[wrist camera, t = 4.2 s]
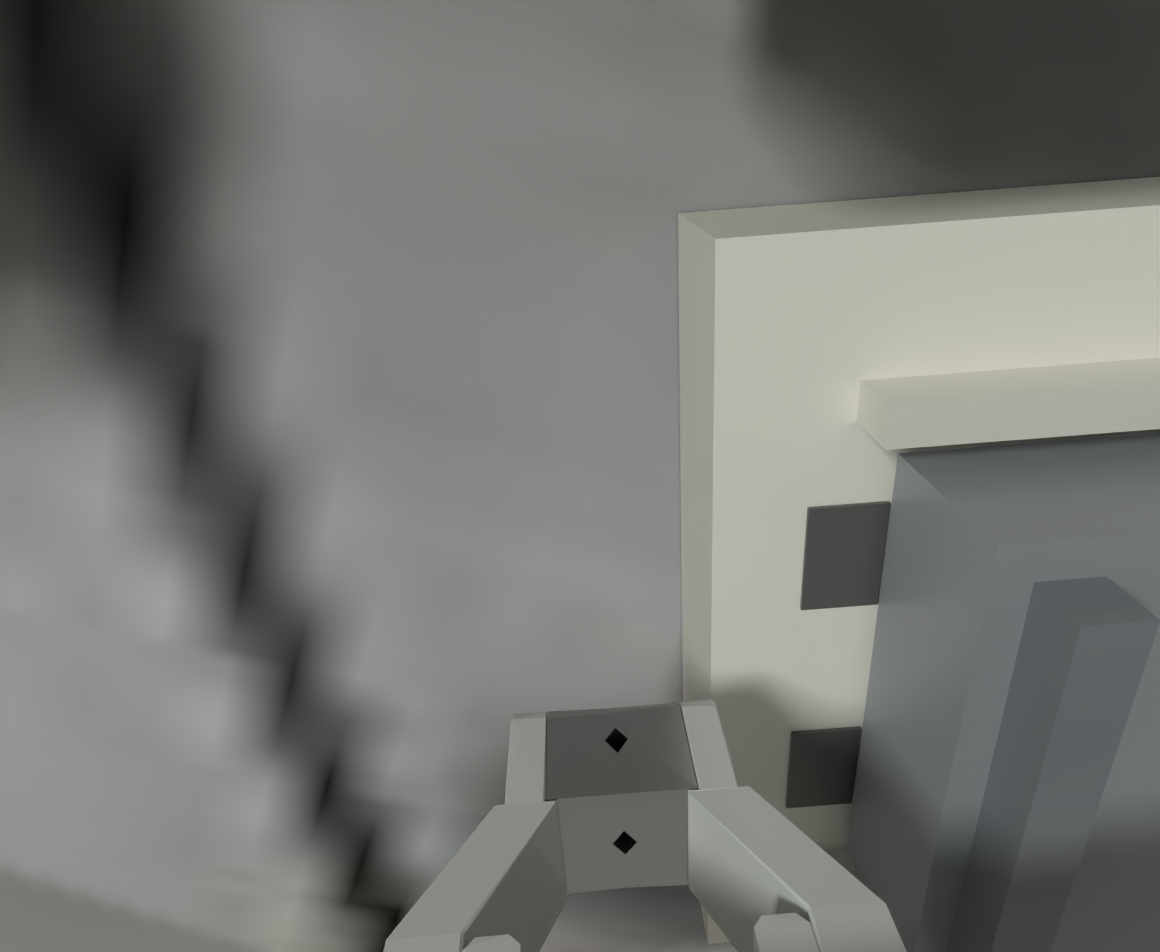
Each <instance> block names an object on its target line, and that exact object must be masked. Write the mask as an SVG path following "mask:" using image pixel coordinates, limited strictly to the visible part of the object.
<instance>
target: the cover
mask: <svg viewBox="0 0 1160 952" xmlns="http://www.w3.org/2000/svg"><path fill="white" fill-rule="evenodd" d="M847 850H848V852H849V855H850V857H851V859H852V862H853V864H854V867H855V869H856V872H857V874H858V877H859V879H860V881H861V883H863V884H864V885H865V886H866V887H867V888H868V889H870V890H871V891H872V892H873V893H874V894H875V895H876V896H878V897H879V898H880V899H881V900H882V901H883V902H885V903H886V905H887V907H888V910H889V912H890V914H891V917H892V919H893V921H894V924H895V926H896V928H897V931H898V933H899V935H900V938H901V940H902V942H903V945H904V947H905V949H906V952H1160V433H1157V434H1144V435H1131V436H1118V437H1105V438H1092V439H1079V440H1066V441H1053V442H1040V443H1027V444H1014V445H1001V446H988V447H975V448H962V449H949V450H936V451H923V452H910V453H898V457H897V465H896V473H895V480H894V488H893V496H892V504H891V511H890V519H889V527H888V535H887V542H886V550H885V558H884V566H883V573H882V581H881V589H880V596H879V604H878V612H877V620H876V627H875V635H874V643H873V651H872V658H871V666H870V674H869V682H868V689H867V697H866V705H865V713H864V720H863V728H862V736H861V743H860V751H859V759H858V767H857V774H856V782H855V790H854V798H853V805H852V813H851V821H850V829H849V836H848V844H847Z"/></svg>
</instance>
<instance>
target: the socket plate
mask: <svg viewBox="0 0 1160 952" xmlns="http://www.w3.org/2000/svg"><path fill="white" fill-rule="evenodd" d="M678 260H679V359H680V458H681V556H682V655H683V702H686V701H697V700H708V699H712V700H713V701H714V702H715V703H716V706H717V710H718V713H719V717H720V720H721V724H722V727H723V731H724V734H725V738H726V741H727V745H728V748H729V752H730V755H731V759H732V762H733V766H734V769H735V773H736V776H737V780H738V783H739V787H743V786H750V787H751V788H753V789H754V790H755V791H756V792H757V793H758V794H760V795H761V796H762V797H763V798H764V799H765V800H766V801H768V802H769V803H770V804H771V805H772V806H773V807H775V808H776V809H777V810H778V811H779V812H780V813H782V814H783V815H784V816H785V817H786V818H787V819H788V820H790V821H791V822H792V823H793V824H794V825H795V826H797V827H798V828H799V829H800V830H801V831H802V832H804V833H805V834H806V835H807V836H808V837H809V838H810V839H812V840H813V841H814V842H815V843H816V844H817V845H819V846H820V847H821V848H822V849H823V850H824V851H826V852H827V853H828V854H829V855H830V856H831V857H832V858H834V859H835V860H836V861H837V862H838V863H839V864H841V865H842V866H843V867H844V868H845V869H846V870H848V871H849V872H850V873H851V874H852V875H853V876H854V877H856V878H857V879H858V880H859V881H860V879H859V877H858V874H857V872H856V869H855V867H854V864H853V862H852V859H851V857H850V855H849V852H848V850H847V844H848V836H849V829H850V821H851V813H852V805H853V798H854V790H855V782H856V774H857V767H858V759H859V751H860V743H861V736H862V728H863V720H864V713H865V705H866V697H867V689H868V682H869V674H870V666H871V658H872V651H873V643H874V635H875V627H876V620H877V612H878V604H879V596H880V589H881V581H882V573H883V566H884V558H885V550H886V542H887V535H888V527H889V519H890V511H891V504H892V496H893V488H894V480H895V473H896V465H897V457H898V453H910V452H923V451H936V450H949V449H962V448H975V447H988V446H1001V445H1014V444H1027V443H1040V442H1053V441H1066V440H1079V439H1092V438H1105V437H1118V436H1131V435H1144V434H1157V433H1160V177H1150V178H1136V179H1123V180H1110V181H1097V182H1084V183H1071V184H1057V185H1044V186H1031V187H1018V188H1005V189H992V190H978V191H965V192H952V193H939V194H926V195H913V196H899V197H886V198H873V199H860V200H847V201H833V202H820V203H807V204H794V205H781V206H768V207H754V208H741V209H728V210H715V211H702V212H689V213H678ZM860 882H861V881H860ZM700 906H701V911H702V916H703V921H704V927H705V932H706V937H707V942H708V944H717V943H730V941H729V939H728V938H727V937H726V936H725V934H724V933H723V932H722V930H721V929H720V928H719V927H718V925H717V924H716V923H715V921H714V920H713V919H712V918H711V916H710V915H709V914H708V912H707V911H706V910H705V909H704V907H703V906H702V905H701V903H700Z"/></svg>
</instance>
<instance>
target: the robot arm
mask: <svg viewBox="0 0 1160 952" xmlns="http://www.w3.org/2000/svg"><path fill="white" fill-rule="evenodd" d="M675 885H688V888H689V889H690V891H691V892H692V893H693V894H694V896H695V897H696V898H697V900H698V901H699V902H700V903H701V905H702V906H703V907H704V909H705V910H706V911H707V912H708V914H709V915H710V916H711V918H712V919H713V920H714V921H715V923H716V924H717V925H718V927H719V928H720V929H721V930H722V932H723V933H724V934H725V936H726V937H727V938H728V939H729V941H730V942H731V943H732V945H733V946H734V947H735V948H736V950H737V951H738V952H906V949H905V947H904V945H903V942H902V940H901V938H900V935H899V933H898V931H897V928H896V926H895V924H894V921H893V919H892V917H891V914H890V912H889V910H888V907H887V905H886V903H885V902H883V901H882V900H881V899H880V898H879V897H878V896H876V895H875V894H874V893H873V892H872V891H871V890H870V889H868V888H867V887H866V886H865V885H864V884H863V883H861V882H860V881H859V880H858V879H857V878H856V877H854V876H853V875H852V874H851V873H850V872H849V871H848V870H846V869H845V868H844V867H843V866H842V865H841V864H839V863H838V862H837V861H836V860H835V859H834V858H832V857H831V856H830V855H829V854H828V853H827V852H826V851H824V850H823V849H822V848H821V847H820V846H819V845H817V844H816V843H815V842H814V841H813V840H812V839H810V838H809V837H808V836H807V835H806V834H805V833H804V832H802V831H801V830H800V829H799V828H798V827H797V826H795V825H794V824H793V823H792V822H791V821H790V820H788V819H787V818H786V817H785V816H784V815H783V814H782V813H780V812H779V811H778V810H777V809H776V808H775V807H773V806H772V805H771V804H770V803H769V802H768V801H766V800H765V799H764V798H763V797H762V796H761V795H760V794H758V793H757V792H756V791H755V790H754V789H753V788H751V787H750V786H743V787H739V783H738V780H737V776H736V773H735V769H734V766H733V762H732V759H731V755H730V752H729V748H728V745H727V741H726V738H725V734H724V731H723V727H722V724H721V720H720V717H719V713H718V710H717V706H716V703H715V702H714V701H713V700H712V699H708V700H697V701H686V702H679V704H678V703H666V704H654V705H643V706H631V707H619V708H609V709H590V710H570V711H550V712H547V713H526V714H513V717H512V720H511V724H510V737H509V751H508V765H507V779H506V793H505V804H504V805H494V807H493V808H492V809H491V810H490V812H489V813H488V814H487V815H486V817H485V818H484V819H483V820H482V822H481V823H480V824H479V825H478V827H477V828H476V829H475V830H474V831H473V833H472V834H471V835H470V836H469V838H468V839H467V840H466V841H465V843H464V844H463V845H462V846H461V848H460V849H459V850H458V851H457V853H456V854H455V855H454V856H453V858H452V859H451V860H450V861H449V863H448V864H447V865H446V866H445V868H444V869H443V870H442V871H441V872H440V874H439V875H438V876H437V877H436V879H435V880H434V881H433V882H432V884H431V885H430V886H429V887H428V889H427V890H426V891H425V892H424V894H423V895H422V896H421V897H420V899H419V900H418V901H417V902H416V904H415V905H414V906H413V907H412V908H411V910H410V911H409V912H408V913H407V915H406V916H405V917H404V918H403V920H402V921H401V922H400V923H399V925H398V926H397V927H396V928H395V930H394V931H393V932H392V933H391V935H390V936H389V937H388V938H387V940H386V942H385V947H384V952H539V951H540V949H541V948H542V946H543V944H544V942H545V940H546V938H547V936H548V934H549V932H550V931H551V929H552V927H553V925H554V923H555V921H556V919H557V917H558V915H559V913H560V912H561V910H562V908H563V906H564V904H565V902H566V900H567V898H568V897H567V894H572V893H582V892H591V891H601V890H610V889H620V888H627V886H628V888H632V887H654V886H675Z"/></svg>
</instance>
